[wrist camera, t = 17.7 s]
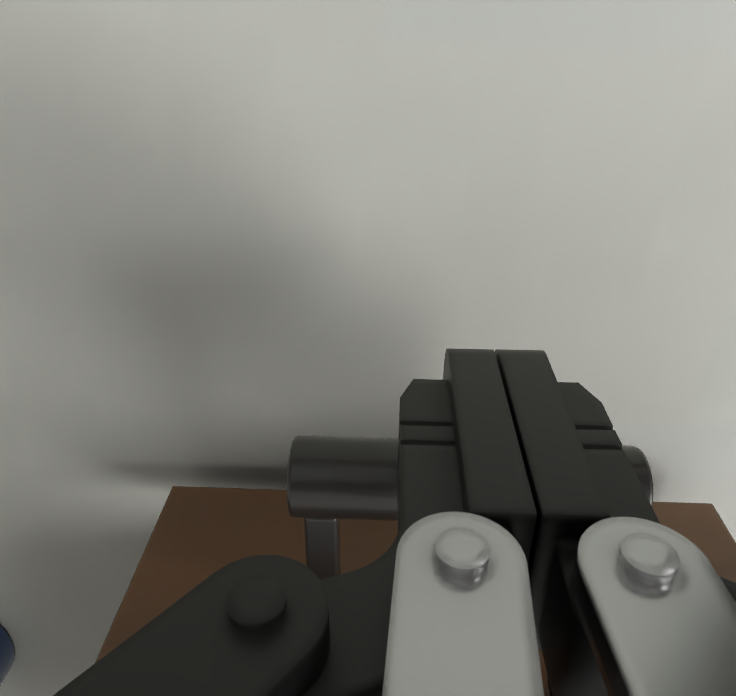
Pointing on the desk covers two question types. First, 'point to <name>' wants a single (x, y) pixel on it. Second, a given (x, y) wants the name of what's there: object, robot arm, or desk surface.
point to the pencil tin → (5, 654)
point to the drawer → (324, 525)
